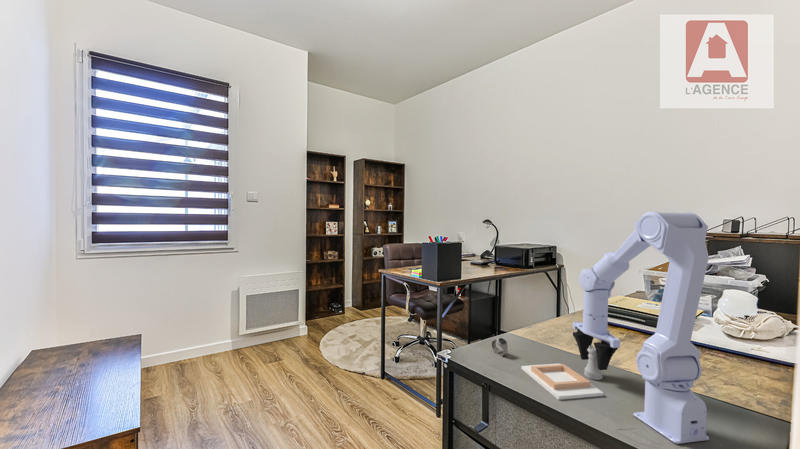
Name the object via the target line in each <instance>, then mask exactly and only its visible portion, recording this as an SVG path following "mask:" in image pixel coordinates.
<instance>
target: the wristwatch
mask: <svg viewBox="0 0 800 449" xmlns="http://www.w3.org/2000/svg"><path fill="white" fill-rule="evenodd" d="M490 343H491V348H492V350H493V352H494V353H495V354H496V353H497V355H498V354H499V355H498V356H500V355H501V356H500V357H505V356H507V354H508V352H509V351H508V341H507V340H506V339H505V338H504V337H496V338H494V339H493V340H492V341H491V342H490ZM496 344H497V345H498V346H499V347H500V348H501V349H502V351H501V350H500V349H499V348H498V347H497V345H496Z"/></svg>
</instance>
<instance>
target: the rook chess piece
mask: <svg viewBox="0 0 800 449" xmlns="http://www.w3.org/2000/svg"><path fill="white" fill-rule="evenodd" d="M587 350H588V352H589V355H588V356H589V359H588V361H587V365H586V367H584V369H583V370H584V372H583V375H584V376H585V378H588V379H591V380H593V381H600V380H603V375H604V374H603V370H599V369H598V364H597V352H596V349H595V346H594V345H591V347H590V346H589V348H588V349H587Z"/></svg>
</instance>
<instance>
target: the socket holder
mask: <svg viewBox="0 0 800 449" xmlns="http://www.w3.org/2000/svg"><path fill="white" fill-rule="evenodd" d="M520 368H521V370H522V371H523V372H525V373H526V374H527V375H528V376H529V377H531V378H532V379H533V380H534V381H535V382H537V383H538V384H539V385H540V386H541V387H543V388H544V389H545V390H546V391H547V392H548V393H550V395H552V396H553V397H554V398H556V399H557V400H559V401H560V400H573V399H582V398H593V397H604V392H603V391H602V390H601V389H599V388H597V387H596V386H594V385H593V384H592V383H591V381H590V380H588V379H587V377H584V376H583V375H581V374H579V373H578V372H576V371H575V370H573V369H572V368H571V367H569V366H568V365H566V364H565V363H549V364H547V363H546V364H544V363H543V364H532V365H531V364H530V365H521V367H520Z"/></svg>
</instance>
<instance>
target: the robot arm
mask: <svg viewBox="0 0 800 449" xmlns="http://www.w3.org/2000/svg"><path fill="white" fill-rule="evenodd" d="M708 228H709V226H708V225H707V223H705V222H704V220H702V218H701V217H700V216H698V215H697V214H696V213H694V212H693V213H692V212H689V211H688V212H659V211H658V212H657V211H647V212H645V213H644V214H642V216H640V218H639V219H638V220H637V221H635V222H634V230H633V232H631V233H630V235H629V236H628V237H627V238H626V240H625V241H623V243H622V244H621V245H620V247H619V248H618V249H617V250H616V251H607V252H604V253H603V257H602V258H600V260H598V262H596V263H595V264H593V267H590V268H583V269H582V270H581V271H580V274H579V277H578V283H579V285H580V287H581V289H582V290H583V300H582V301H583V305H582V306H583V308H582V322H580V321H572V329H573V330H576V331H573V332H572V336H573V338H574V339H575V342H576V344H577V347H578V350H579V351H578V352H579V355H580V359H581V360H583V361H584V360H586V361H587V360H588V359H589V356H588V355H589V352H588V350H587V349H588V348H589V346H590V347H591V346H593V347H594V346H595V349H596V352H597V364H598V369H599V370H601V371H606V370H608V367H609V364H610V362H611V359H612V357H613V356H614V354H615V353H616V351H617V350H618V349H620V347H621V339H620V338H617V337H616V336H614V335H613V334H612V333H611V332H610V331H611V330H609V329H608V321H609V320H608V319H609V316H608V315H609V298H611V295H612V290H613V289H614V287H615V285H616V284H615V283H616V282H615V281H616V280H617V279H619V278H620V277H621V276H622V275H623V274H625V272H626V271H628V270H629V269H630V261H632V260H633V259H635V258H636V257H637V256H638V255H641V254H642V252H644V251H646V250H647V249H648V248H649V247H651V246H652V247H653V248H654V249H655V250H657V251H658V252H659V253H661V254H662V255H664V256H665V258H667V260H668V261H669V263H668V267H667V268H668V269H667V273H666V278H665V283H664V287H663V293H662V298H661V303H660V304H661V305H660V307H659V308H660V309H659V312H658V319H657V323H656V329H655V333H654V334H652V335H651V336H650V337H648V338H647V339H646V340H643V344H642V348H641V349H640V350H639V352H638V353H637V354H636V357H635V364H636V368H637V371H638V372H639V374H640V375H641V376H642V379H644V380H645V382H644V404H643V405H644V406H643V407H644V408H643V409H644V410H643V411H638V412H637V411H636V412H633V414H632V415H633V416H634V417H636V418H637V419H638V420H640V421H641V422H643V423H644V424H646V425H647V426H649V427H650V428H652V429H654V431H656V432H657V433H659V434H661V435H662V436H664V438H666V439H668V440H669V441H671V442H672V443H674V444H677V445H678V444H686V443H688V444H689V443H693V442H694V443H695V442H703V441H709V440H710V437H709V436H708V435H707V418H708V409H707V403H705V401H704V400H703V399H702V398H701V397H699V396H698V395H696V394H695V393H694V392H693V391H692V389H691V388H693V387H694V382H696V381H698V380H699V379H700V378H701V376H702V371H703V369H702V365H701V361H700V360H701V359H700V357H701V351H700V350H699V348H698V347H697V346H695V345H694V344H693V343H692V342H691V340H692V336H693V332H694V326H695V324H696V319H697V318H696V317H697V313H698V308H699V303H700V300H701V295H702V290H703V285H704V280H705V276H706V272H707V266H708V262H709V252H708V248H707V243H706V238H707V233H708ZM594 339H596V340H598V341H599V342H598V341H595V342H593V341H594ZM592 344H593V345H592Z"/></svg>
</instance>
